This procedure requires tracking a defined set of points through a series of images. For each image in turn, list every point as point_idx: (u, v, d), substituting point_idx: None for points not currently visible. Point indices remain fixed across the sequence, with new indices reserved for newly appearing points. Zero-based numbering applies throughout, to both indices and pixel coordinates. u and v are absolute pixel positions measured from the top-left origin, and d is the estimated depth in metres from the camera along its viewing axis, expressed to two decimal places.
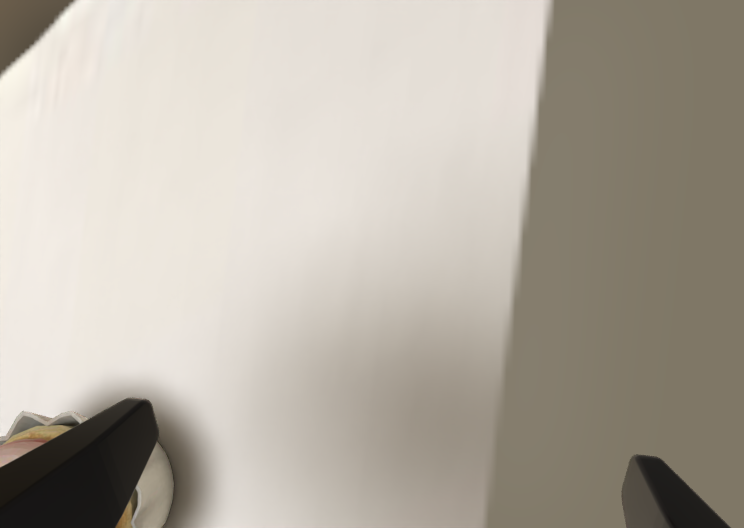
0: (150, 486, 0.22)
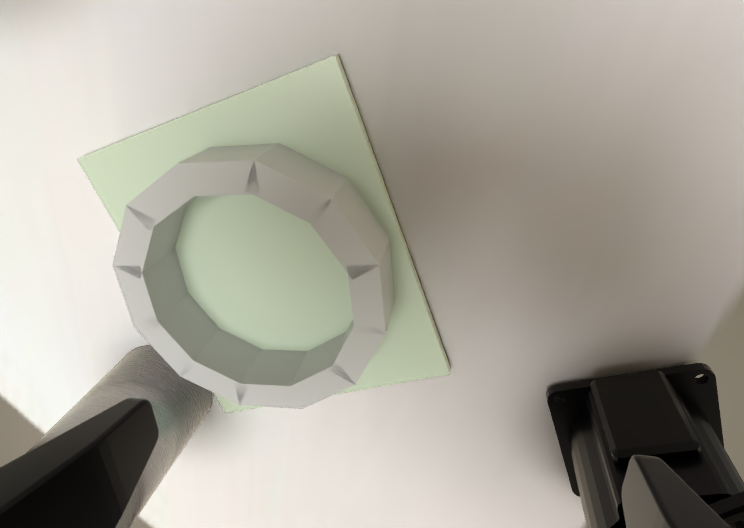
0: None
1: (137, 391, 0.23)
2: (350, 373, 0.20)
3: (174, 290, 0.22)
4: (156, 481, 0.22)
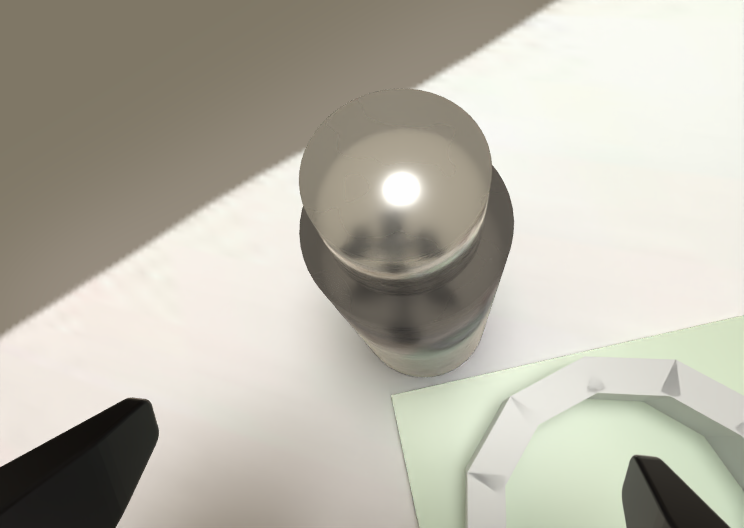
0: None
1: (483, 328, 0.18)
2: None
3: (602, 397, 0.18)
4: (387, 352, 0.16)
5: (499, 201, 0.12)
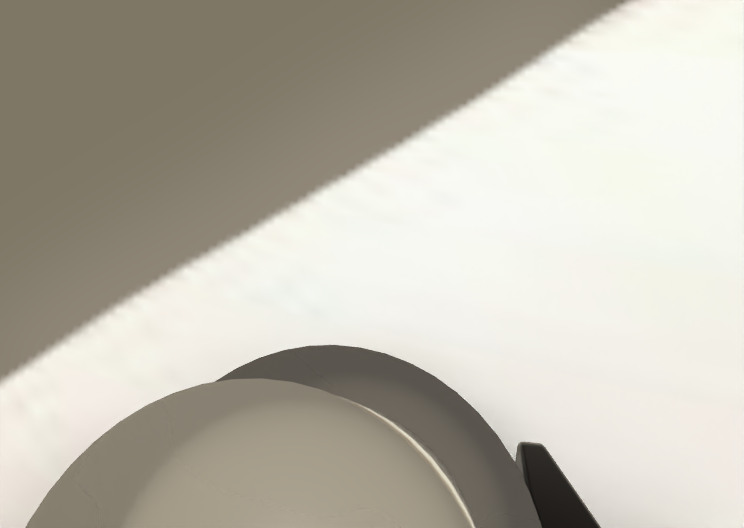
0: None
1: None
2: None
3: None
4: None
5: None
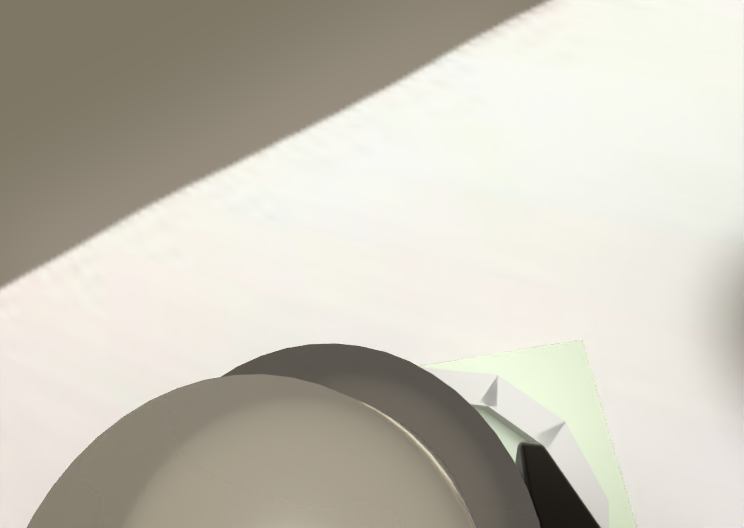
0: None
1: None
2: None
3: None
4: None
5: None
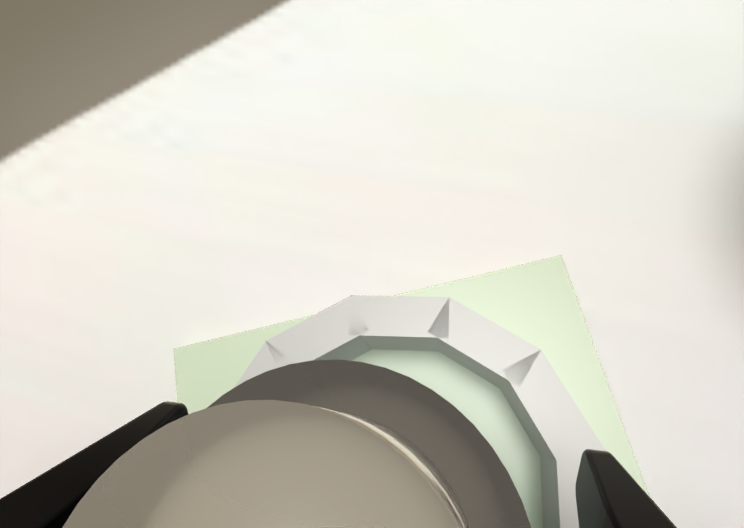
0: None
1: None
2: None
3: (386, 345, 0.16)
4: None
5: None
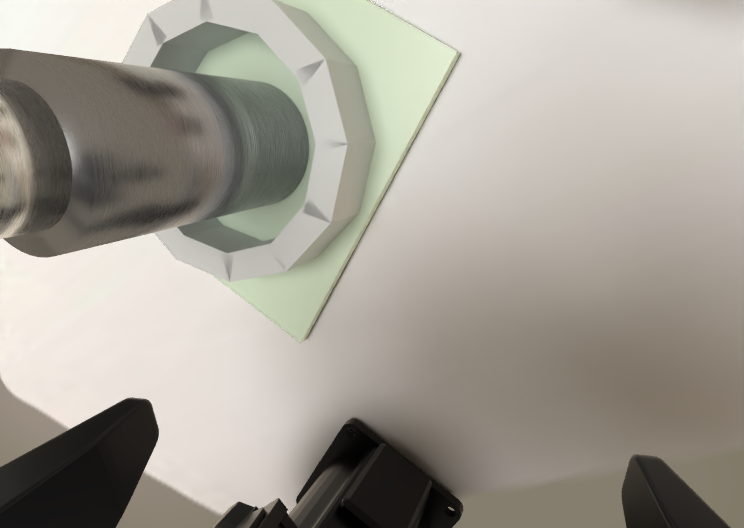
0: None
1: (258, 123, 0.18)
2: (234, 271, 0.21)
3: None
4: (196, 219, 0.17)
5: (38, 73, 0.12)
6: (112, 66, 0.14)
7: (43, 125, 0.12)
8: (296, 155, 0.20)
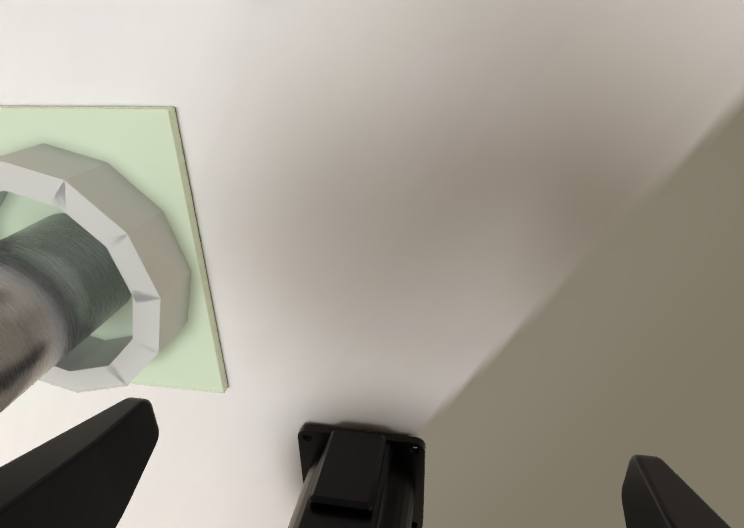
0: None
1: (52, 260, 0.20)
2: (123, 375, 0.23)
3: None
4: (49, 365, 0.19)
5: None
6: None
7: None
8: (110, 259, 0.22)
